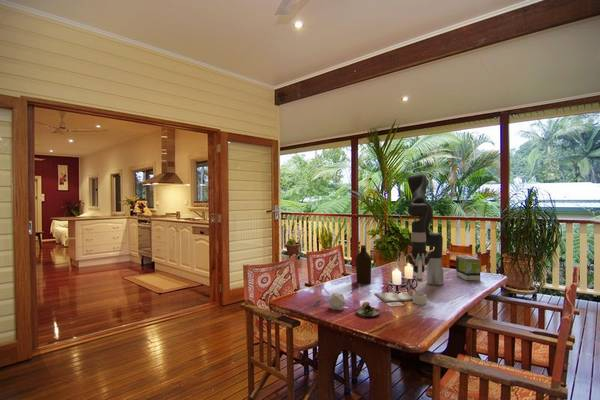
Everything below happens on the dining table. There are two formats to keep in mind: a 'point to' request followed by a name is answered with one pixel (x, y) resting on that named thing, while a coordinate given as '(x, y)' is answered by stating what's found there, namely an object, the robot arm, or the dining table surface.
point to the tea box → (468, 267)
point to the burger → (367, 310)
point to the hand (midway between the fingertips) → (419, 272)
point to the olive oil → (363, 266)
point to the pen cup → (419, 298)
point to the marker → (419, 270)
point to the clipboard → (395, 296)
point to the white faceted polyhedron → (337, 301)
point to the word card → (395, 304)
